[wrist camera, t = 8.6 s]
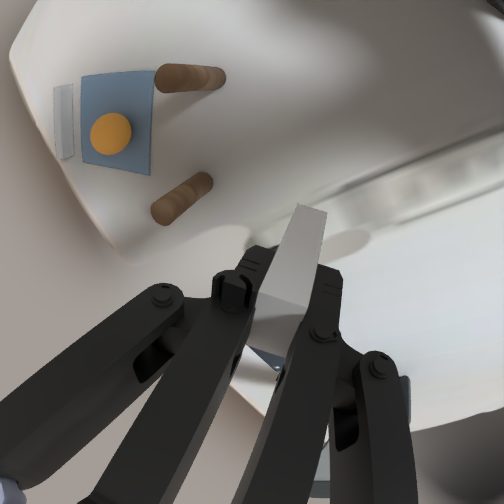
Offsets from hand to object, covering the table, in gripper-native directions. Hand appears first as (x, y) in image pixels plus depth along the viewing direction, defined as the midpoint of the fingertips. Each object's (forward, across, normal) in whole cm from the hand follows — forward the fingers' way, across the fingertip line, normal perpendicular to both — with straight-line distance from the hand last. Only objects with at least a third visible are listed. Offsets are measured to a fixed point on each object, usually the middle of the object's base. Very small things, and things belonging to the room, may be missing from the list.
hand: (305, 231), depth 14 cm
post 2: (+16, -13, -6) cm, 22 cm away
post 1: (+16, -13, +6) cm, 22 cm away
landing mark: (+16, -28, 0) cm, 33 cm away
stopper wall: (+16, -39, 0) cm, 42 cm away
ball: (+14, -26, -1) cm, 29 cm away
